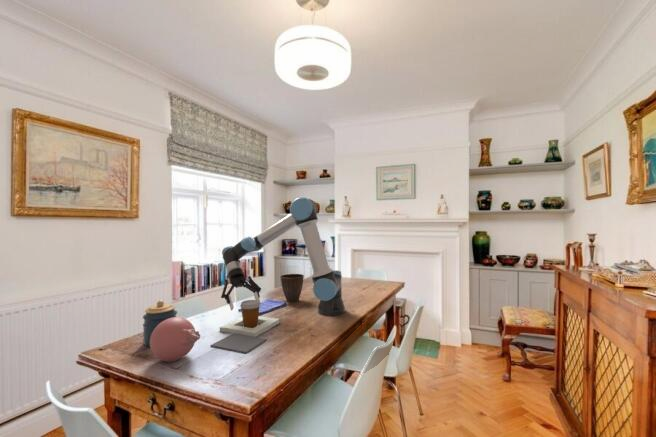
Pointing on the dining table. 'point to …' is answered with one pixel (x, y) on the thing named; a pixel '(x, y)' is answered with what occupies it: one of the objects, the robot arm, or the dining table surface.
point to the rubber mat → (239, 343)
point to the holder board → (237, 329)
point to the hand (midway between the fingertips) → (246, 306)
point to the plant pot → (292, 286)
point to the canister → (156, 318)
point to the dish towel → (269, 306)
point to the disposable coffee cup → (250, 313)
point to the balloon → (173, 339)
